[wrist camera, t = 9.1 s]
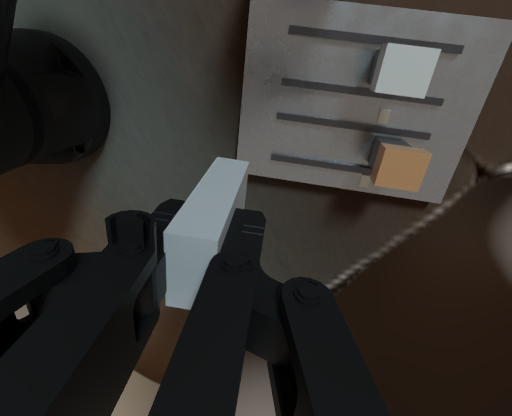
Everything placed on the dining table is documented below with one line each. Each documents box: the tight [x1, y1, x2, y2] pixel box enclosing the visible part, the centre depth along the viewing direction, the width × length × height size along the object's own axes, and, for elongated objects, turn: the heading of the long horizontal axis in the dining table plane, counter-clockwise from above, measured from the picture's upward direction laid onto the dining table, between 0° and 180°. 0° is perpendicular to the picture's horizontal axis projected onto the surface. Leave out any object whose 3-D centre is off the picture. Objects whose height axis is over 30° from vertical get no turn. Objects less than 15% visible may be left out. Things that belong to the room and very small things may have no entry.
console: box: [237, 0, 512, 204], centre depth 32 cm, size 24×18×3 cm
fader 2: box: [368, 137, 432, 192], centre depth 30 cm, size 4×4×6 cm
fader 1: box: [368, 43, 441, 99], centre depth 27 cm, size 4×4×6 cm
